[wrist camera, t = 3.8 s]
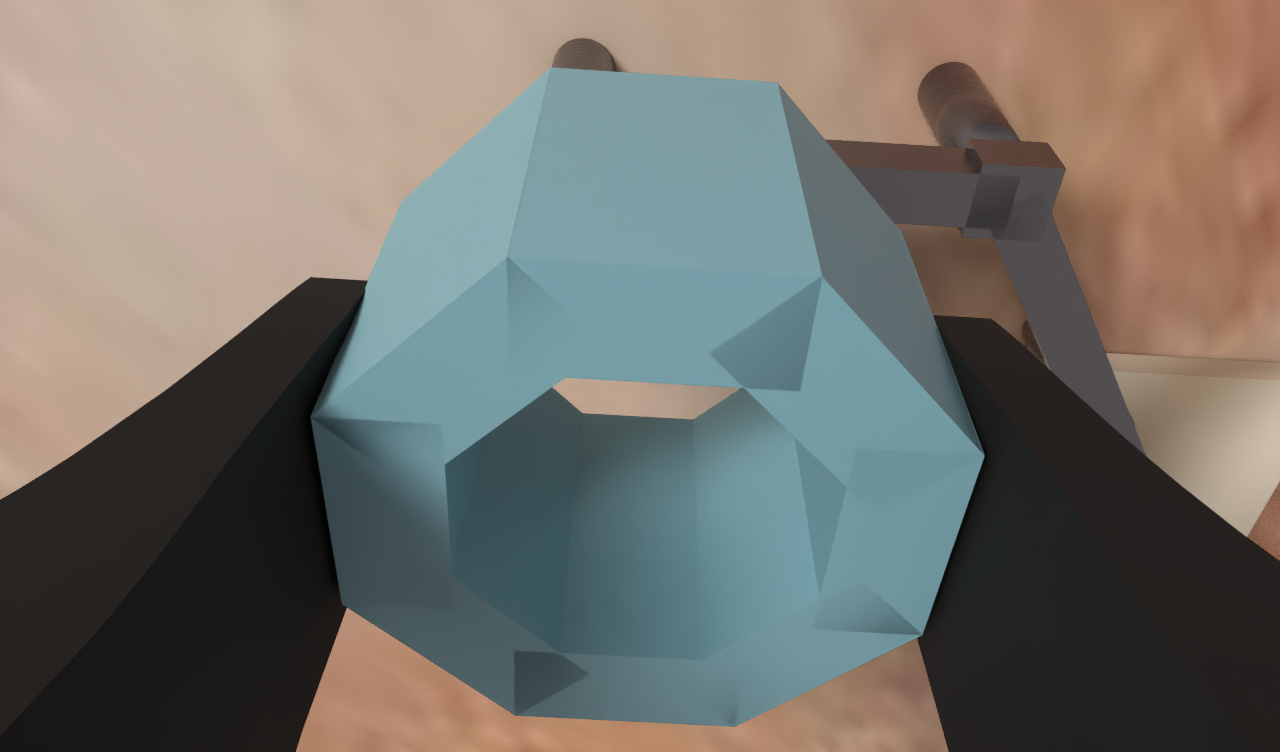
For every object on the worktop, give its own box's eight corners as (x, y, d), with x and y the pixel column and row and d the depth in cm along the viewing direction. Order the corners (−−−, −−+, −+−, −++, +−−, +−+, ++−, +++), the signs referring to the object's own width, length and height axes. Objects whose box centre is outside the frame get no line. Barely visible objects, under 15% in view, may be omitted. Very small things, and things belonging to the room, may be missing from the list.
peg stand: (1320, 365, 20) (1481, 554, 16) (1185, 603, 25) (1288, 800, 21) (964, 344, 20) (1039, 531, 16) (890, 588, 24) (935, 784, 20)
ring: (936, 92, 10) (1042, 290, 7) (839, 489, 13) (887, 734, 10) (389, 55, 10) (280, 241, 7) (423, 466, 13) (359, 708, 10)
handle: (1171, 72, 17) (1287, 181, 14) (1066, 350, 20) (1140, 489, 17) (552, 33, 17) (528, 136, 14) (550, 321, 20) (530, 456, 17)
